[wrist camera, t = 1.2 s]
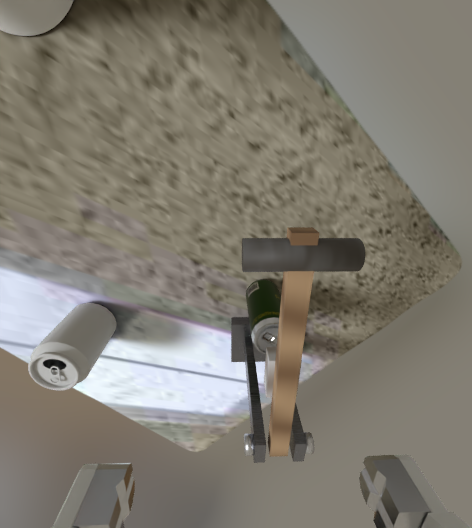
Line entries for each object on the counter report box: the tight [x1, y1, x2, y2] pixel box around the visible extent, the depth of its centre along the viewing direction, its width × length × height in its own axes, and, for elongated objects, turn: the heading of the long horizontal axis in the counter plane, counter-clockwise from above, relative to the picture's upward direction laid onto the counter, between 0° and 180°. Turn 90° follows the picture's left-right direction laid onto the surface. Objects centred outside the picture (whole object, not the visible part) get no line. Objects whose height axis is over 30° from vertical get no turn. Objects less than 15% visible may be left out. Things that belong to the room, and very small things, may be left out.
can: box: [28, 303, 117, 390], centre depth 39 cm, size 8×8×12 cm
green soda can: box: [246, 279, 281, 355], centre depth 38 cm, size 5×5×12 cm
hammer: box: [242, 228, 365, 456], centre depth 26 cm, size 26×9×4 cm, turn 179°
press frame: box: [231, 318, 314, 463], centre depth 38 cm, size 8×10×20 cm
